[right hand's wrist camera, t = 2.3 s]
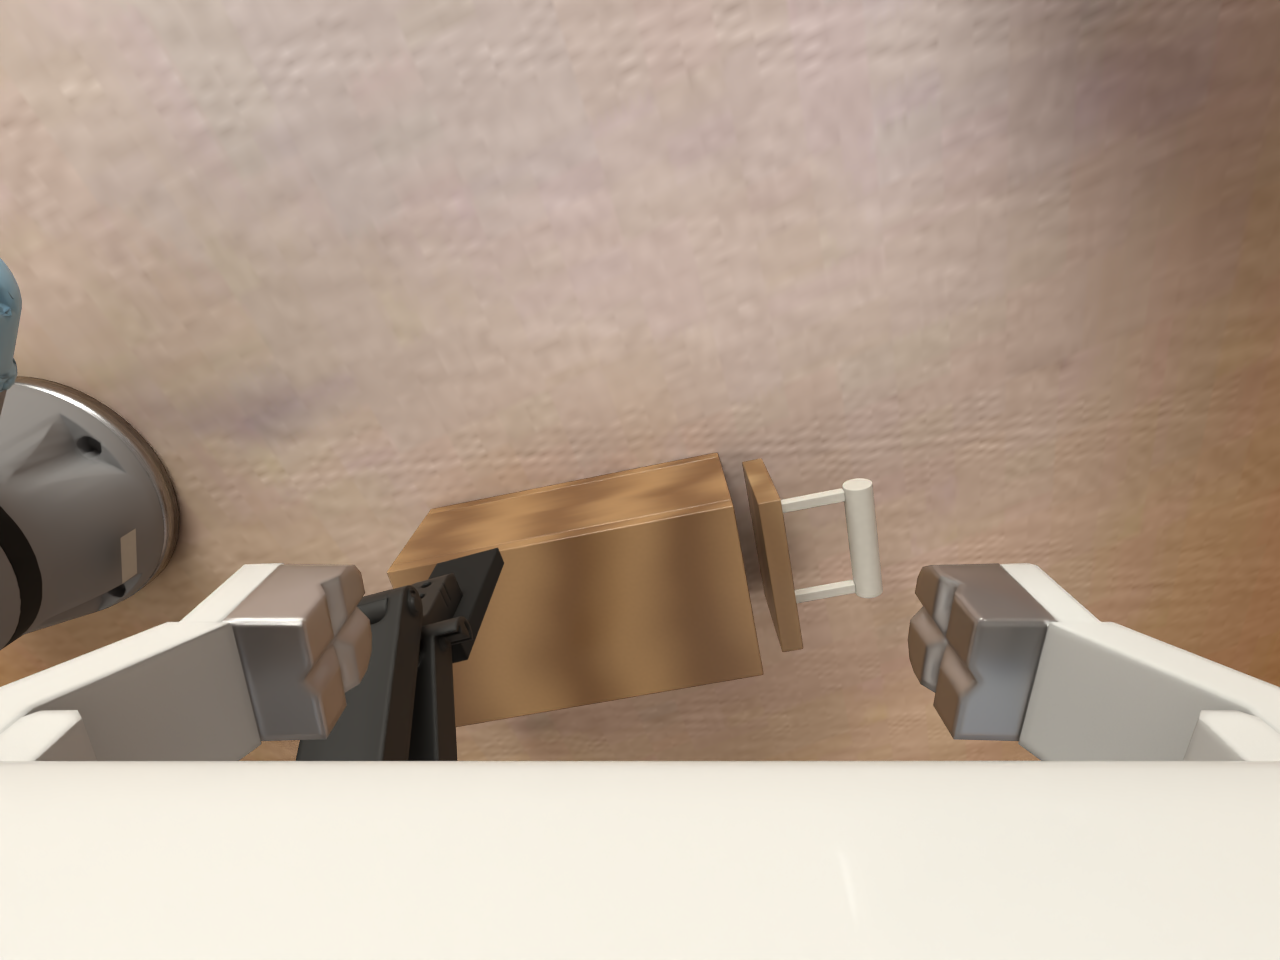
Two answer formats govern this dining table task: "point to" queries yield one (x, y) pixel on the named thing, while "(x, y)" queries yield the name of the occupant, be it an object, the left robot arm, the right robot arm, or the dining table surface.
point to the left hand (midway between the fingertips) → (526, 690)
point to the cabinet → (598, 589)
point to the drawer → (776, 553)
